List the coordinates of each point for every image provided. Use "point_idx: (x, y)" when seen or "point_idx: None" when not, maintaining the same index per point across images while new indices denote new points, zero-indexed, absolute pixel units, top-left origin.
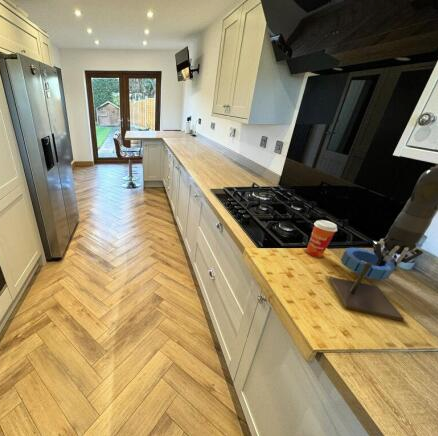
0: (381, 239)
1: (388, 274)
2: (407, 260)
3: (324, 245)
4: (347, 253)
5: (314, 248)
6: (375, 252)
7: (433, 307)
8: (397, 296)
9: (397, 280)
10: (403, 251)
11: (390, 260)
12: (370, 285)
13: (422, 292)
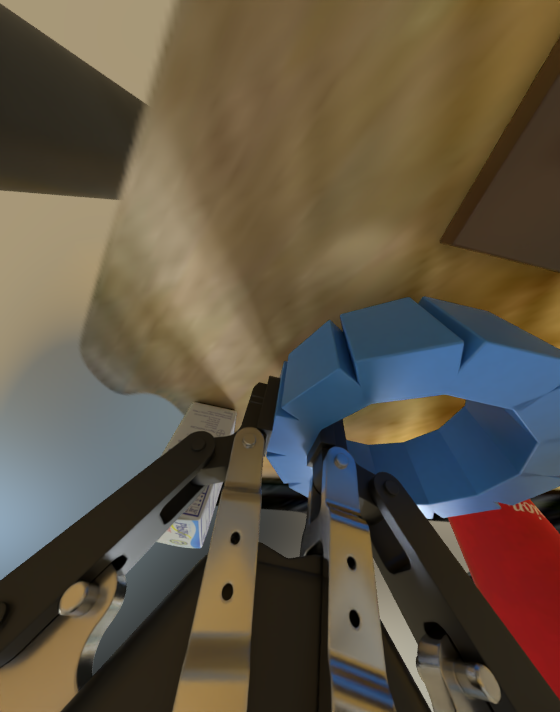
0: (202, 544)
1: (368, 328)
2: (183, 457)
3: (532, 530)
4: (522, 498)
5: (531, 501)
6: (383, 523)
7: (162, 44)
8: (354, 168)
9: (229, 337)
10: (234, 639)
11: (267, 447)
12: (511, 244)
13: (157, 252)
